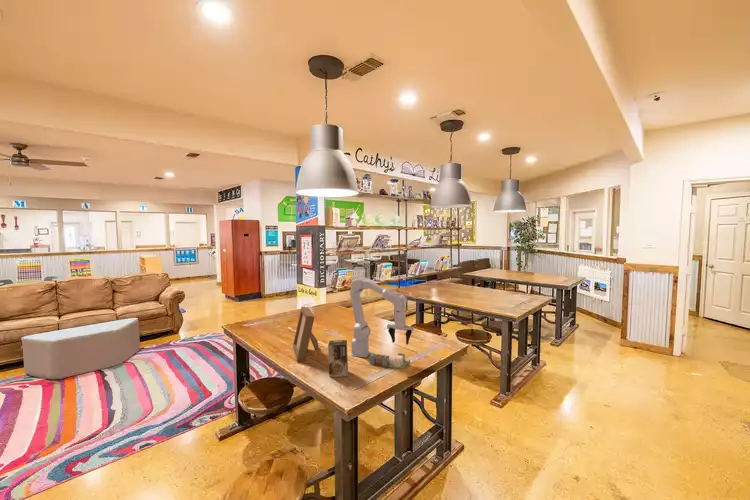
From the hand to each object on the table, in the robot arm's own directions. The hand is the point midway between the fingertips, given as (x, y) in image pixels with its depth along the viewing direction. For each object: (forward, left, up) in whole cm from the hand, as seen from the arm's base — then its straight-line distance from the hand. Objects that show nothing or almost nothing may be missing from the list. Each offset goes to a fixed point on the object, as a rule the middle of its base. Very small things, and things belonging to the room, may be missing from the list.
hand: (400, 343), depth 168 cm
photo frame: (-55, -7, -11) cm, 56 cm away
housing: (-10, -7, -10) cm, 16 cm away
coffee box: (-25, -24, -11) cm, 36 cm away
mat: (0, -2, -10) cm, 11 cm away
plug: (0, -2, -10) cm, 10 cm away
